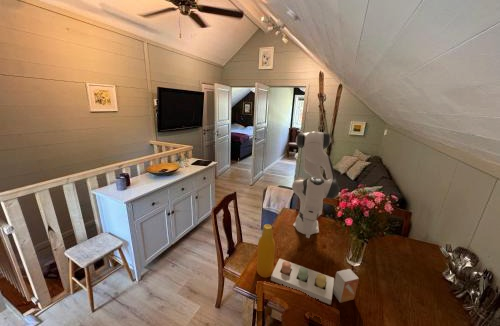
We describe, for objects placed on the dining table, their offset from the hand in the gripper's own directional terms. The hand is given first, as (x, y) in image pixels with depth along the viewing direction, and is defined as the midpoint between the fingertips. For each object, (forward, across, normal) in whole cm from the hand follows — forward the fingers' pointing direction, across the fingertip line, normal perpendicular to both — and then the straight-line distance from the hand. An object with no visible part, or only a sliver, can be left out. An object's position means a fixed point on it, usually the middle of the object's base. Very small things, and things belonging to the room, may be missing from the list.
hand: (309, 232), depth 110 cm
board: (+25, +8, 0) cm, 27 cm away
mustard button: (+23, +7, +9) cm, 26 cm away
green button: (+23, +8, 0) cm, 24 cm away
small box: (+26, +6, +20) cm, 33 cm away
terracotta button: (+23, +8, -9) cm, 26 cm away
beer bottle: (+26, +11, -20) cm, 34 cm away
